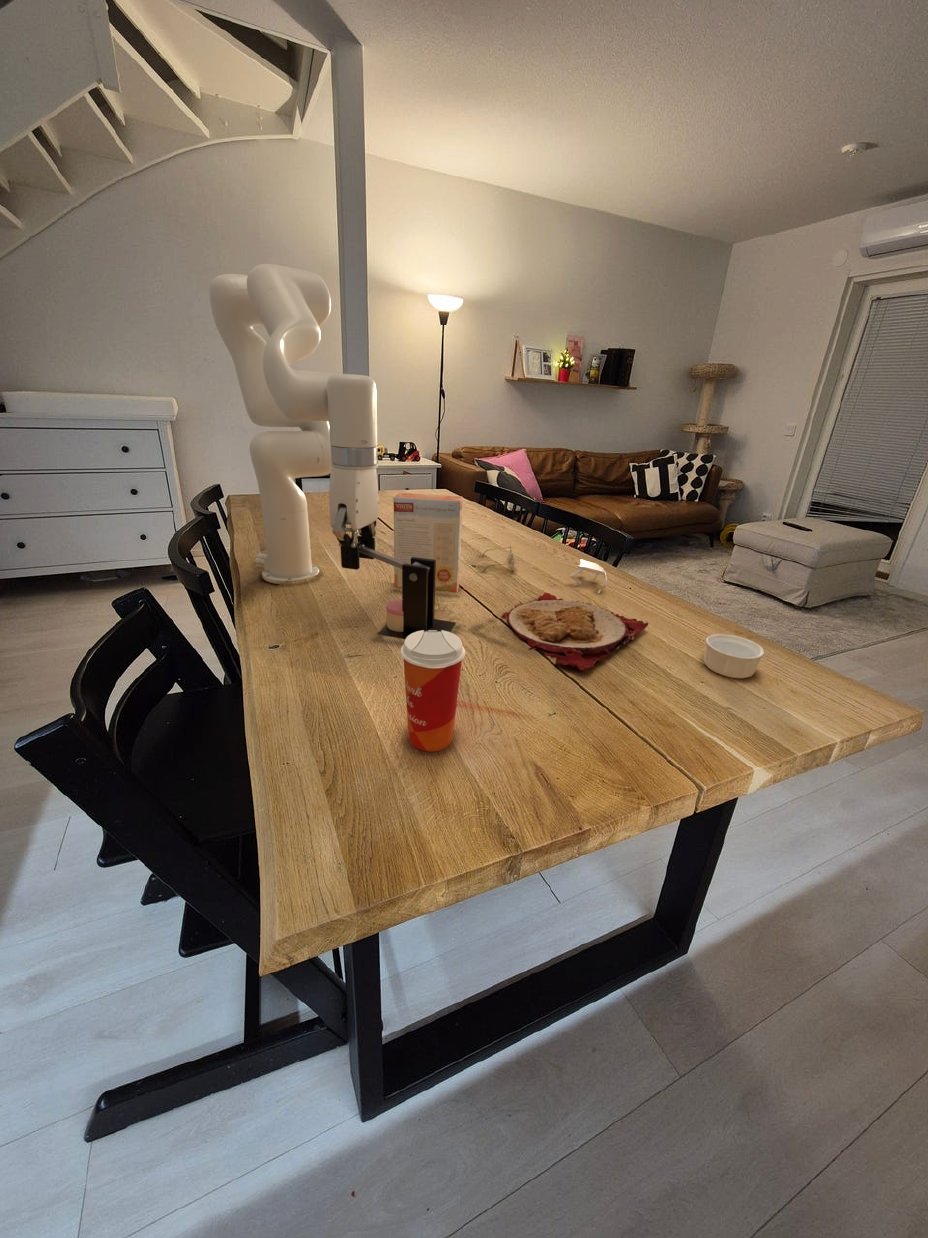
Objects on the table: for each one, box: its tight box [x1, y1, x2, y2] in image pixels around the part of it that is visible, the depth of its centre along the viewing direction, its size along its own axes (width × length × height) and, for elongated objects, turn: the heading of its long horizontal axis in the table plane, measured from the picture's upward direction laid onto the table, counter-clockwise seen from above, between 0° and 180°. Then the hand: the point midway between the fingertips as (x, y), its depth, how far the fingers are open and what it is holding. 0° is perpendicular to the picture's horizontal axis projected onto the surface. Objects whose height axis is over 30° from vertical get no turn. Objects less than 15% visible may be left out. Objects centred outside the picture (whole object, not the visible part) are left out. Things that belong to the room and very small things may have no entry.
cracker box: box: [392, 492, 463, 593], centre depth 109 cm, size 14×6×21 cm, turn 84°
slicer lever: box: [356, 540, 430, 573], centre depth 88 cm, size 14×6×2 cm, turn 75°
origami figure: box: [568, 558, 608, 594], centre depth 119 cm, size 12×8×5 cm
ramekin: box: [703, 633, 765, 679], centre depth 85 cm, size 9×9×4 cm
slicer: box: [377, 557, 458, 640], centre depth 89 cm, size 12×10×14 cm
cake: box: [385, 599, 403, 632], centre depth 92 cm, size 6×6×4 cm
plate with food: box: [492, 592, 650, 671], centre depth 96 cm, size 24×26×3 cm
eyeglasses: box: [481, 545, 516, 573], centre depth 131 cm, size 14×8×4 cm, turn 179°
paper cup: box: [400, 630, 466, 753], centre depth 62 cm, size 8×8×14 cm
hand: (358, 562), depth 90 cm, fingers closed on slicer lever, 5 cm apart
